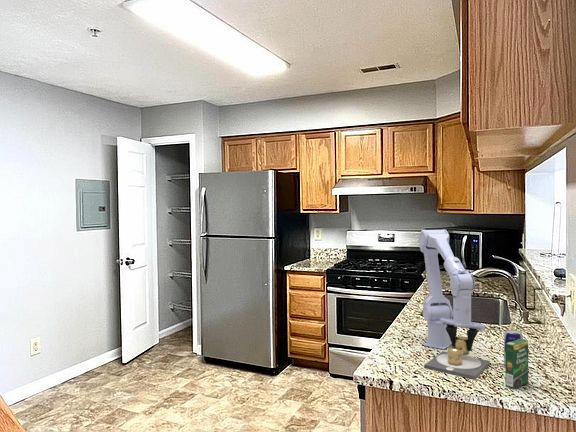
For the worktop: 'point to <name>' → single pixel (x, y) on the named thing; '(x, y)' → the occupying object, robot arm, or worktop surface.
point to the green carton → (516, 363)
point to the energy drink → (510, 339)
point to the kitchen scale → (468, 368)
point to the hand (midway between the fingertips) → (461, 348)
